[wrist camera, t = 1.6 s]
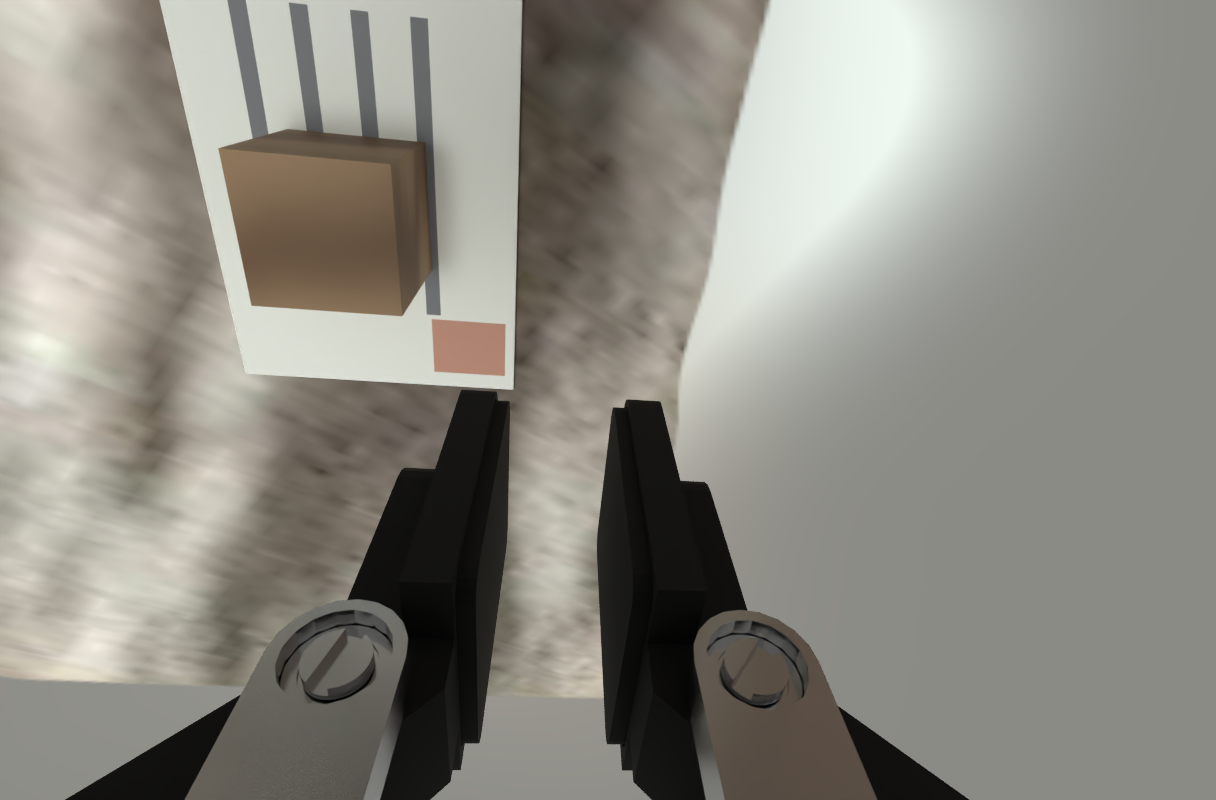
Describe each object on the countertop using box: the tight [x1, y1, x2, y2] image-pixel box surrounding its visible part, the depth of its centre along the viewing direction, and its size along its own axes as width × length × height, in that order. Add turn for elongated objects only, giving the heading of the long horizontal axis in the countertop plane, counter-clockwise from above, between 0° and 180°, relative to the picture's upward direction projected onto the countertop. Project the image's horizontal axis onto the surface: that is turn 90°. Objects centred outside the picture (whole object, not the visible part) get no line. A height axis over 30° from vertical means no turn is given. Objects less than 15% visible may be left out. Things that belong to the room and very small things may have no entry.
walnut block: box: [218, 129, 432, 316], centre depth 22 cm, size 5×5×5 cm
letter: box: [160, 0, 522, 390], centre depth 24 cm, size 16×12×1 cm
